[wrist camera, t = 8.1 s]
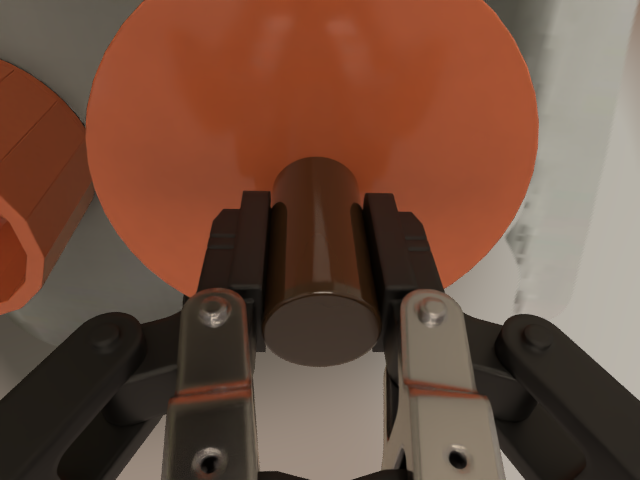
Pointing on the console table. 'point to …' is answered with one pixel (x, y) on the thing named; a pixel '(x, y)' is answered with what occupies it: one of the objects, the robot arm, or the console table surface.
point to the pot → (37, 183)
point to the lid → (311, 144)
